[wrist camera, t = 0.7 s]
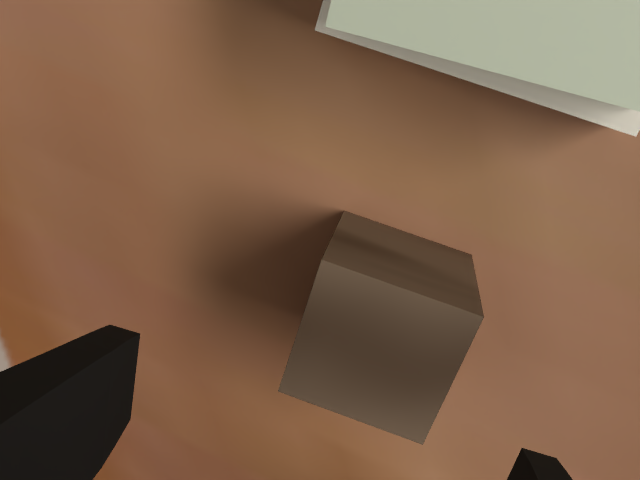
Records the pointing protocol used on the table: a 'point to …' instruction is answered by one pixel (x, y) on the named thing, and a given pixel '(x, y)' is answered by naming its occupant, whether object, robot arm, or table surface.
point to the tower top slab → (515, 39)
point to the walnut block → (384, 327)
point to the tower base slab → (502, 82)
